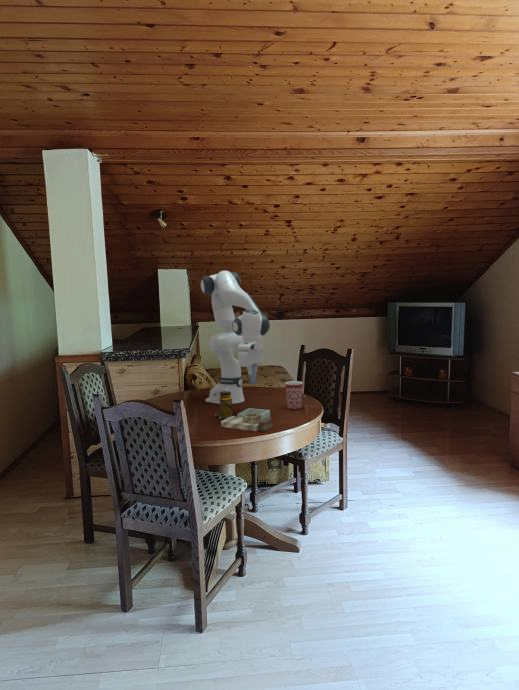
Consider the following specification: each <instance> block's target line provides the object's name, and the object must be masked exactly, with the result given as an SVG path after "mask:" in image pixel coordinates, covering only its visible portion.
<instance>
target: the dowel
mask: <svg viewBox="0 0 519 690" xmlns="http://www.w3.org/2000/svg"><path fill="white" fill-rule="evenodd" d="M251 368H252V370H253V374H249V384H256V383H257V372H256V364H253V365H252V367H251Z"/></svg>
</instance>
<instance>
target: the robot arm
mask: <svg viewBox="0 0 519 690" xmlns="http://www.w3.org/2000/svg"><path fill="white" fill-rule="evenodd" d="M241 284H242V283H241V278H240V275H239V274H238V273H237V272H234V271H231V272H230V271H229V270H221V271H219V272H218V273H215V274H211V275H206V276H203V277H202V278H201V280H200V289H201V292H202V293H203V294H204V295H205V296H211V307H212V312H213V317H214V320H215V324H216V326H218V327H219V328H221V329H222V330H223V331H224V332H221V333H216V334H214V335H212V336H211V337H210V338H209V341H208V346H209V349H210V350H211V352H212V353H214V354H215V355H216V357H217V358H218V360H219V363H220V364H219V365H220V371H221V373H220V374H221V376H219V377H218V378H217V381H218V383H217V384H216V385H215V386H213V387H212V388H211V389H210V390H209V397H207V398H205V402H206V403H212V404H218V405H220V393H221V392H223V391H229V392H231V398H232V405H233V404H240V403H243V402H245V400H246V398H245V397H244V392H243V376H242V368H246V370H247V374H248V375H250V374H253V370H252V368H251V367H252V365H253V364H256V373H257V372H258V367H259V363H262V362H264V361H265V359H266V356H265V347H264V345H263V343H262V336H265V335H266V334H268V332H269V330H270V329H271V328H270V327H271V323H270V320H269V318H268V317H267V315H265V314H264V313H263V312H262V311H261V309H260V308H259V306H258V304H257V303H256V302H255V300H254V299H253V298H252V296H251V295H250V294H249V293H248V292H246V291H244V290H243V289H242V288H241ZM233 306H235V307H239V308H244V309H245V310H243V311H242V314H241V315H239V316H235V313H234V308H233ZM234 352H238V353H237V355H238V356H237V358H238V359H237V358H235V356H234Z"/></svg>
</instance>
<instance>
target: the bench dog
mask: <svg viewBox="0 0 519 690" xmlns="http://www.w3.org/2000/svg"><path fill="white" fill-rule="evenodd" d="M272 428H273V418H272V417H270V418H267V417H266V418H264V419H263V420H261V421H259V422H258V430H257V431H258V432H267V431H268V430H269V429H272Z"/></svg>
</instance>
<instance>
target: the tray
mask: <svg viewBox="0 0 519 690" xmlns="http://www.w3.org/2000/svg"><path fill="white" fill-rule="evenodd" d="M248 413H254V414H261V419H264V418H266V417H267V418H271V410H270V409H260V408H251V407H250V408H249V407H248V408H246V409H244V410H243V411H241V412H238V413H237V414H236V416H237V417H243V416H244V415H246V414H248Z"/></svg>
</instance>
